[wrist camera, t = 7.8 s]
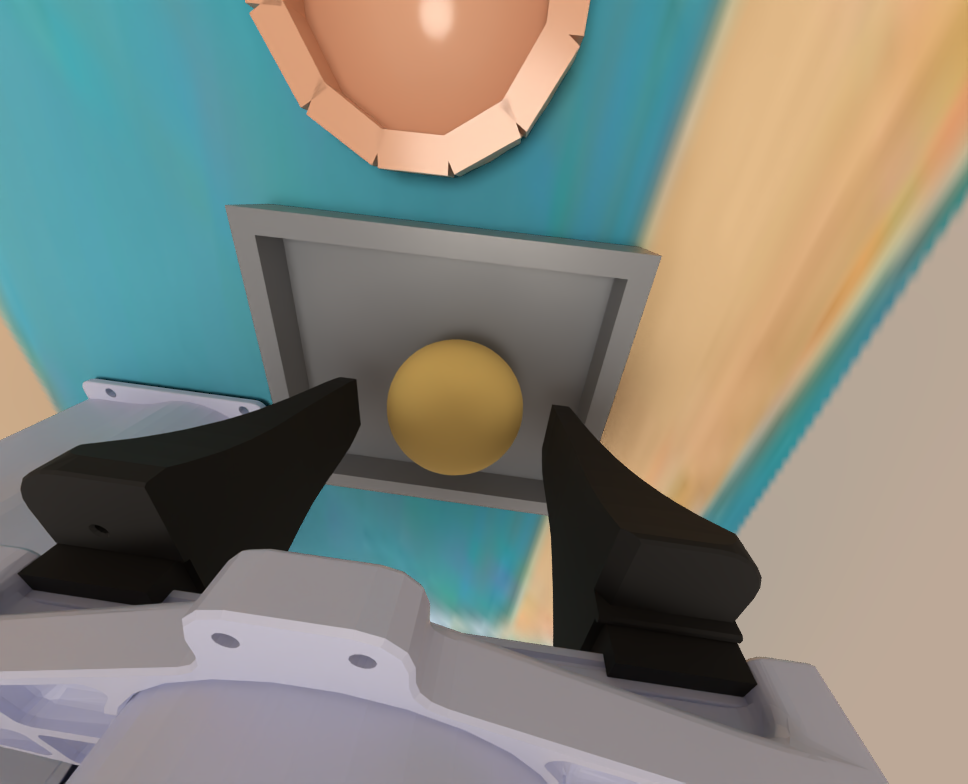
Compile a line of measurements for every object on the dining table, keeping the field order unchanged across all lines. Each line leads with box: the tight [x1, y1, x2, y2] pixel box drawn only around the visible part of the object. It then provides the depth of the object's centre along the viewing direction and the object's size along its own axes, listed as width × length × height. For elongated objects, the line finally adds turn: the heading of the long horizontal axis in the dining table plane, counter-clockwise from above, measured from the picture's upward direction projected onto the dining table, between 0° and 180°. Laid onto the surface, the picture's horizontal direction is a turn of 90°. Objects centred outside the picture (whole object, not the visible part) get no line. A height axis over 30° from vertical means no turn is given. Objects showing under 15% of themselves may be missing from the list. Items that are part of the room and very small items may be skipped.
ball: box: [387, 339, 523, 475], centre depth 13 cm, size 5×5×5 cm
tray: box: [225, 204, 662, 515], centre depth 15 cm, size 14×12×2 cm
